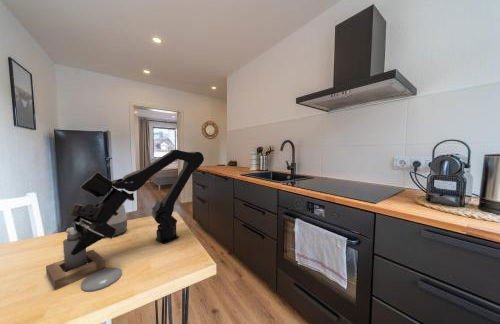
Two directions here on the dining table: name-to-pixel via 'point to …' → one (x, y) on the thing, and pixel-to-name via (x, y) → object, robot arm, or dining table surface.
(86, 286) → the slate coaster
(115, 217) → the smart speaker
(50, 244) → the dining table surface
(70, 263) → the pepper mill
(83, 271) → the mill stand
